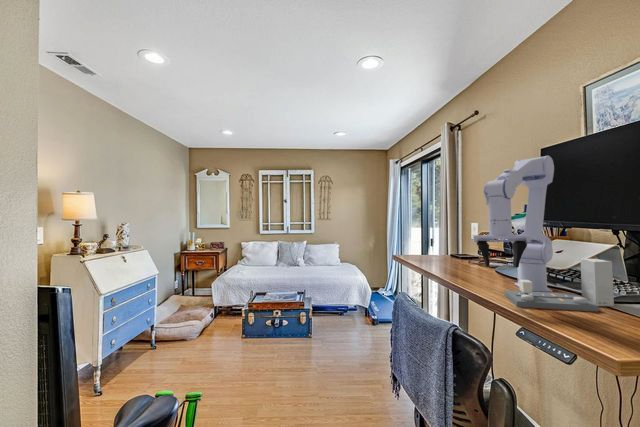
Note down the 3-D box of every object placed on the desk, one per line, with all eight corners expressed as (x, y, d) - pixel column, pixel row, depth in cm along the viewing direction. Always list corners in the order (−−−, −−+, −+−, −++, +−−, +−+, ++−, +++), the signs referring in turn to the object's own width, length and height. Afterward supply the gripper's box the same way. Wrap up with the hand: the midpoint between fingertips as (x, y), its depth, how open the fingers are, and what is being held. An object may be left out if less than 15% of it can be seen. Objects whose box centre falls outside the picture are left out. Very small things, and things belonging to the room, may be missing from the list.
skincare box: (615, 306, 78) (613, 261, 78) (596, 306, 79) (594, 261, 79) (598, 300, 84) (596, 258, 84) (581, 299, 85) (579, 258, 85)
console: (504, 295, 92) (504, 286, 92) (574, 298, 86) (574, 289, 87) (517, 306, 81) (516, 296, 81) (598, 311, 75) (598, 300, 75)
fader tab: (519, 293, 87) (519, 279, 87) (528, 294, 86) (527, 279, 86) (523, 296, 84) (523, 282, 84) (532, 297, 83) (532, 282, 83)
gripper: (475, 221, 85) (476, 268, 85) (533, 220, 81) (535, 269, 81) (470, 220, 92) (472, 264, 92) (524, 219, 88) (526, 265, 88)
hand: (501, 266), depth 87 cm, fingers open, 7 cm apart
